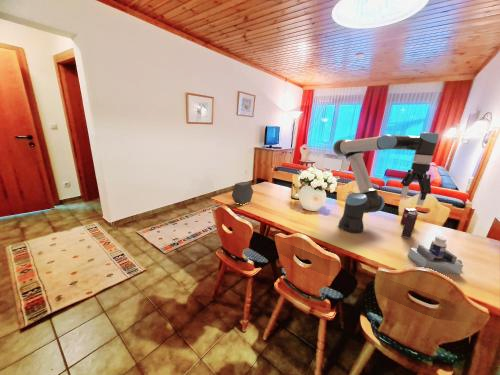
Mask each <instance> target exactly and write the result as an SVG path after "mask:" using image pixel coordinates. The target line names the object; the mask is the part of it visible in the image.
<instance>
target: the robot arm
mask: <svg viewBox="0 0 500 375" xmlns="http://www.w3.org/2000/svg"><path fill="white" fill-rule="evenodd" d="M439 136H440V135H439V133H438V132H437V133H436V132H421V133H420V134H419V135H418V136H416V135H398V134H397V135H396V134H383V135H380V136H374V137H367V138H359V139H338V140H337V141H336V142H335V143H334V144H333V146H332V147H333V148H332V149H333V152H334V154H335V155H338V156H340V157H345V160H346V161H348V162H349V164H350V167H351V170H352V173H353V176H354V178H355V179H354V180H355V181H356V182H355V183H356V185H357V188H358V191H359V192H358V193H357V192H351V193H348V194H347V195H346V198H345V201H344V202H345V203H344V209H343V214H342V216H341V217H340V220H339V221H338V227H339V228H340V229H341V230H343V231H345V232H348V233H352V234H361V233H363V231H364V221H363V219H364V214H367V213H368V214H369V213H376V212H380V211H381V210H383V209H384V207H385V199H384V197H383V196H382V195H381V194H379V193H378V190H377V189H376V188H374V187H373V183H372V181H371V178H370V175H369V173H368V170H367V167H366V164H365V160H364V159H363V157H364V156H365V154H364V153H365V152H370V151H386V150H404V151H405V150H406V151H407V150H408V151H415V152H414V157H413V160H412V161H413V162H412V164H411V167H410V169H408V171H407V173H406V175H405V176H404V177H403V179H402V180H401V182H400V184H401V185H402V189H401V193H400V197H401V198H407V196H408V192H409V189H410V184H412V183H413V182H414V181H416V182H417V183H418V186H419V190H420V192H419V195H418V197H417V201H416V204H415V205H416V206H424V203H425V200H426V198H427V195H429V194H430V195H431V194H432V188H431V187H432V186H431V185H432V184H431V176H432V175H431V174H427V172H429V171H430V170H431V163H432V160H433V157H434V153H435V151H436V147H437V144H438V141H439Z"/></svg>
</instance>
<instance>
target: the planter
mask: <svg viewBox="0 0 500 375" xmlns="http://www.w3.org/2000/svg"><path fill="white" fill-rule="evenodd" d="M253 194H254V189H253V187H252V184H251V183H250V182H247V181H240V182H236V183H235V184H234V186H233V189H232V193H231V197H232V199H233V201H234V203H235V202H236V203H239V204H242V205H243V204H245V203H247V202H250V203H251V202H252V199H253V198H252V197H253ZM236 203H235V204H236ZM239 204H238V205H239ZM242 205H241V206H242Z"/></svg>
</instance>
